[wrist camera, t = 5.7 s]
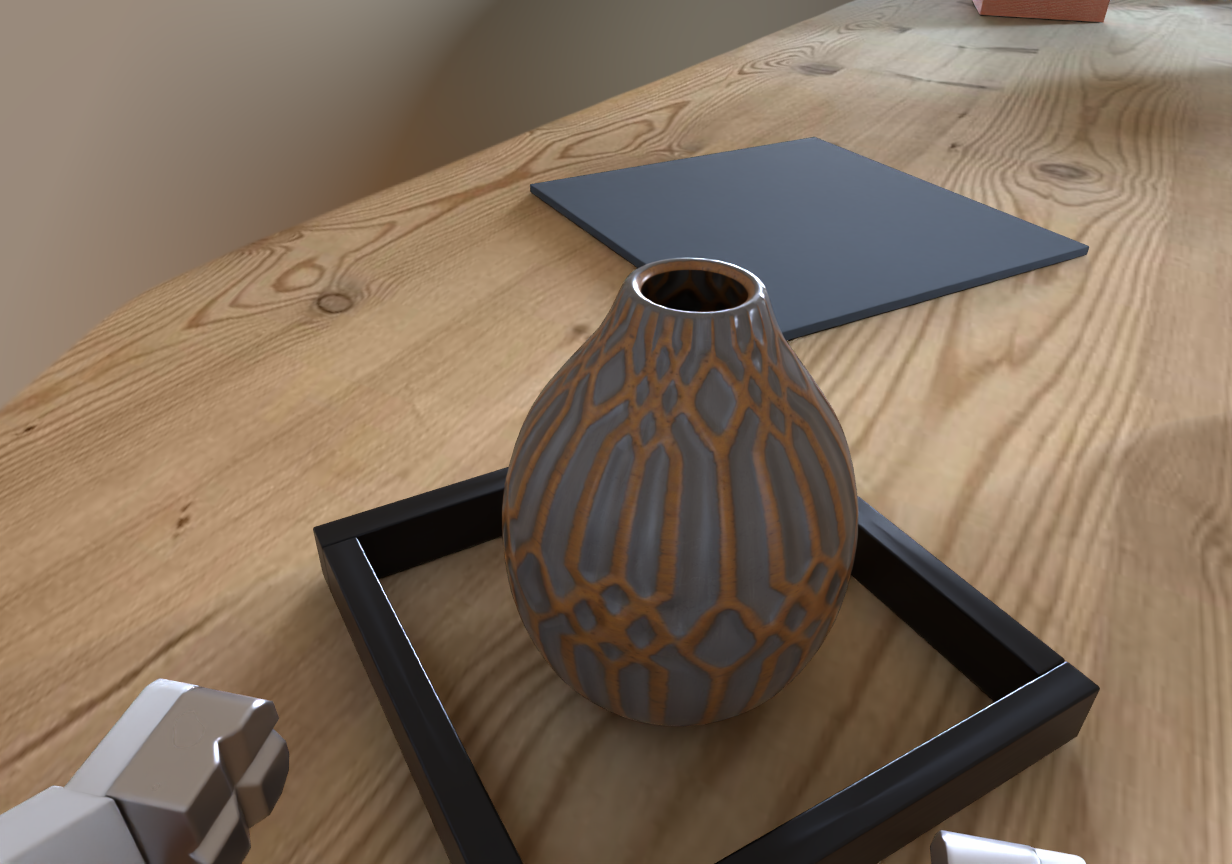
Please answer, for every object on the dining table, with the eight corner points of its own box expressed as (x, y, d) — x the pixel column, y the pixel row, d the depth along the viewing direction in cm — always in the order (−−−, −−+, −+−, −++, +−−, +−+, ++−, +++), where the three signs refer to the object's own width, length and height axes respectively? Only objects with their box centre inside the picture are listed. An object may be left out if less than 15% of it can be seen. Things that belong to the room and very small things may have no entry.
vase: (451, 629, 20) (408, 266, 15) (677, 509, 24) (701, 186, 19) (653, 858, 16) (683, 453, 11) (892, 668, 20) (995, 302, 15)
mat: (754, 350, 31) (755, 340, 31) (530, 191, 44) (529, 183, 44) (1087, 254, 39) (1089, 246, 39) (813, 143, 52) (814, 136, 51)
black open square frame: (544, 1076, 13) (541, 1029, 12) (322, 574, 22) (312, 526, 21) (1077, 737, 18) (1102, 687, 17) (728, 439, 27) (733, 396, 26)
